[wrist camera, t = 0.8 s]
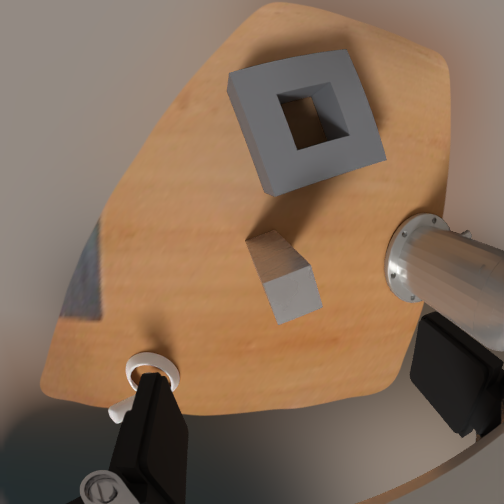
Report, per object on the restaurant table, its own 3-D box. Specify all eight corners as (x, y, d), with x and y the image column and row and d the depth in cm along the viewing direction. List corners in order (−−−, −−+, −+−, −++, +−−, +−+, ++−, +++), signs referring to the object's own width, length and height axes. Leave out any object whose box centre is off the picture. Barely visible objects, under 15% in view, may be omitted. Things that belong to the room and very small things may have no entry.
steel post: (274, 229, 32) (310, 265, 20) (284, 257, 33) (322, 307, 21) (245, 240, 32) (262, 283, 20) (255, 269, 33) (278, 324, 21)
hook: (76, 366, 28) (104, 383, 25) (144, 341, 39) (179, 349, 35) (92, 416, 29) (122, 437, 25) (154, 385, 39) (187, 397, 36)
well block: (325, 66, 28) (346, 49, 22) (359, 161, 31) (386, 159, 25) (226, 91, 28) (229, 73, 22) (264, 192, 31) (275, 196, 25)
